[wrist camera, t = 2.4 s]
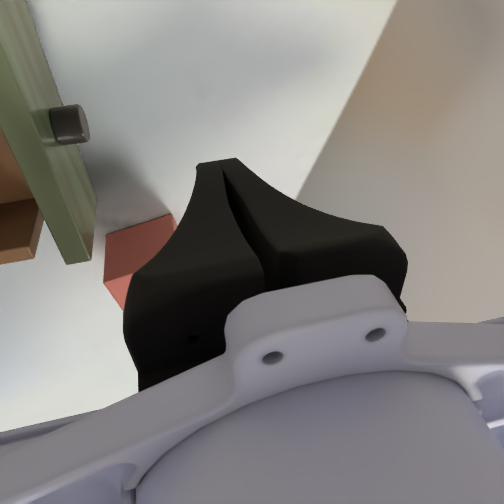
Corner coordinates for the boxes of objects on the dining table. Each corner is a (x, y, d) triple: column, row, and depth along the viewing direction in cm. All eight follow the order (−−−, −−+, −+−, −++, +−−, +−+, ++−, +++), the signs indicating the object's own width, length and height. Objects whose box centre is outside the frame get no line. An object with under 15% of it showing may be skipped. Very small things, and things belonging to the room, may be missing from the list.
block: (193, 260, 29) (201, 306, 26) (134, 280, 29) (135, 328, 26) (171, 213, 26) (178, 258, 23) (105, 234, 26) (102, 283, 23)
